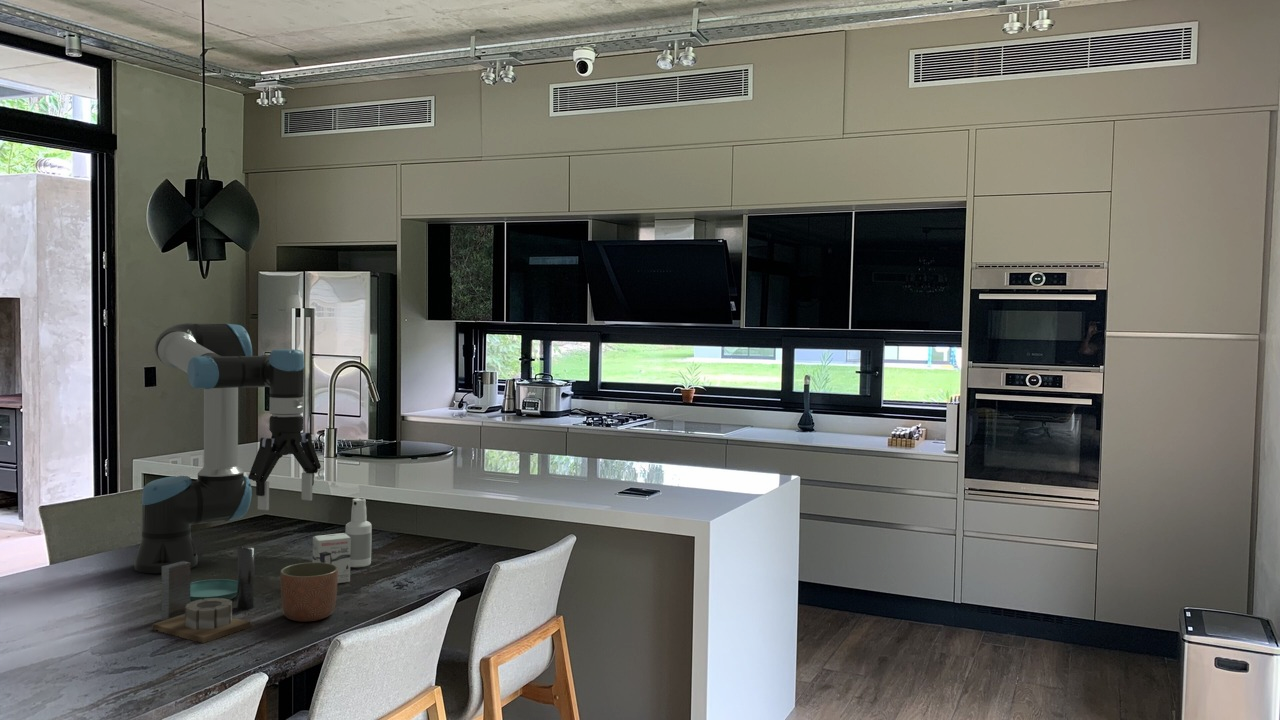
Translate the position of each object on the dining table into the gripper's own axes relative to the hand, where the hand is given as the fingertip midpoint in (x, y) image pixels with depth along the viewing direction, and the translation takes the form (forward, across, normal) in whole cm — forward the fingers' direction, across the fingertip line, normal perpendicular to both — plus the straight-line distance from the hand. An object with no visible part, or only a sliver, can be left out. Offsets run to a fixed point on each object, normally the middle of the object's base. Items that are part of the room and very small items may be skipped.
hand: (285, 504), depth 226 cm
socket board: (+24, -22, +2) cm, 32 cm away
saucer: (+24, -5, +18) cm, 31 cm away
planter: (+24, -4, -12) cm, 27 cm away
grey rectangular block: (+24, -20, +13) cm, 33 cm away
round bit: (+24, -7, +5) cm, 25 cm away
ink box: (+24, +19, +3) cm, 31 cm away
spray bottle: (+24, +35, +9) cm, 43 cm away
